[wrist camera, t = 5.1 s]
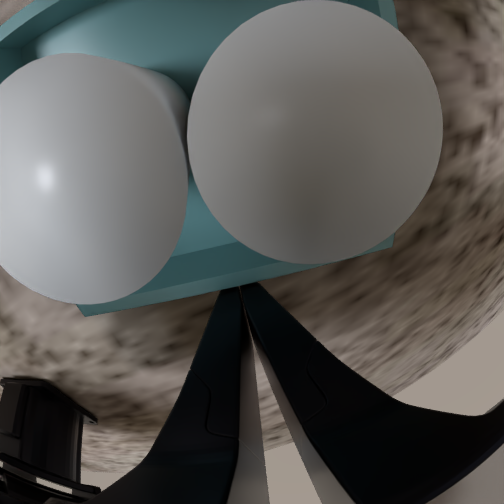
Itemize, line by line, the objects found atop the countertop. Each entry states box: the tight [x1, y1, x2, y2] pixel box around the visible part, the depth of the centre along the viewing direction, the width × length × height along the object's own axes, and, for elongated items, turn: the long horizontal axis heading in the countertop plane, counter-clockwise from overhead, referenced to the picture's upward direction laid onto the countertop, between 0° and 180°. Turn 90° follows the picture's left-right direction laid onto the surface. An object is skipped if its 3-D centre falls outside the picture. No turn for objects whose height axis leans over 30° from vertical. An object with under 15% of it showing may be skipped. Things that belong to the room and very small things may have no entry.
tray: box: [0, 0, 399, 317], centre depth 6 cm, size 9×10×2 cm
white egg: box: [0, 53, 191, 304], centre depth 4 cm, size 3×3×4 cm
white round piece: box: [187, 0, 443, 264], centre depth 4 cm, size 3×3×4 cm
